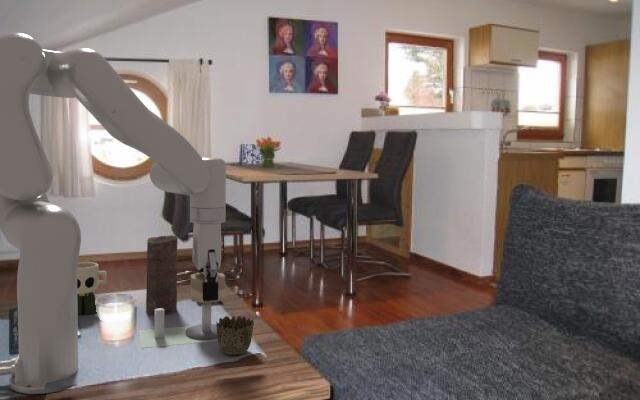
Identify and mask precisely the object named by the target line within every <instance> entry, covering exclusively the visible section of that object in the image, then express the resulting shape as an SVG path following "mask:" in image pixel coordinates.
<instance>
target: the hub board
mask: <svg viewBox="0 0 640 400" xmlns="http://www.w3.org/2000/svg"><path fill="white" fill-rule="evenodd" d="M201 306H202V307H201V324H196V325H187V326H175V327H165V315H164V309H163V308H158V309H155V315H154V328H152V329H150V328H149V329H139V330H138V335H139V344H140V348H141V349H147V348H157V347H166V346H167V347H168V346H178V345H187V344H189V345H190V344H199V343H209V342H218V335H217V325H216V323H212V302H211V303H201Z"/></svg>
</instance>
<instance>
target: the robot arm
mask: <svg viewBox="0 0 640 400" xmlns="http://www.w3.org/2000/svg"><path fill="white" fill-rule="evenodd" d="M30 95H37V96H45V97H51V98H52V97H53V98H65V99H72V98H73V99H74V98H75V99H76V100H78V102H79V103H80V104H81V105H82V106H83V107H84V108H85V109H86V110H87V112H88V113H89V114H90V115H92V117H93V118H94V119H95V120H96V121H97V122H98V123H99V124H100V125H101V127H103V129H105V131H106V132H107V133H108V134H109V135H110V136H111V137H112V138H114V139H116V140H117V141H118V142H120V143H122V144H123V145H125V146H126V147H127V146H128V147H129V148H132V149H134V150H136V151H138V152H140V153H142V154H144V155H145V156H147V157H148V158H150V159H151V160H152V161H154V163H153V164H152V165H151V167H150V169H149V178H150V181H151V183H152V185H153V186H154V187H155V188H157V189H158V190H160V191H163V192H166V193H171V194H177V195H178V194H180V195H183V196H184V195H185V196H189V206H190V207H189V210H190V211H189V223H192V224H193V233H192V251H191V253H192V256H191V261H192V263H193V265H194V267H195V268H196V269H197V273H199V272H204V282H203V301H213V300H218V273H219V272H218V270H219V269H220V268H221V262H222V225H221V224H223V223H226V215H227V214H226V208H227V207H226V199H227V198H226V197H227V192H226V191H227V187H226V186H227V183H226V181H227V164H226V161H225V160H224V158H223V159H222V158H221V157H220V158H219V157H202V156H201V154H199V152H198V151H197V150H196V149H195V147H194V146H193V145H192V144H191V143H190V142H189V141H188V140H187V139H186V138H185V136H183V135H182V134H181V133H180V131H179V132H178V131H177V129H175V128H173V127H172V126H171V125H169V123H167V122H166V121H164V119H162V118H161V117H160V116H158V115H157V114H155V113H154V112H152V110H150V109H149V108H148V107H147V106H146V105H145V104H144V102H143V101H141V99H140V97H138V96H137V95H136V93H135V92H134V91H133V90H132V88H130V86H129V85H128V84H127V82H125V80H124V79H123V78H122V77H121V75H120V74H119V73H118V72H117V71H116V70H115V69H114V67H113V66H112V65H111V63H109V62H108V61H107V59H106V58H105V57H104V56H103V55H102V54H100V53H99V52H98V51H96V50H94V49H92V48H85V47H83V48H81V47H80V48H75V49H71V50H68V51H55V50H48V49H43V47H42V45H41V43H39V42H38V40H36V39H34V37H32V36H31V35H28V34H25V33H21V32H9V33H5V34H4V33H3V34H2V35H0V231H1V233H2V236H3V237H4V238H5V240H6V241H7V243H9V244H10V245H11V246H13V247H14V248H15V249H18V250H19V259H18V267H17V275H16V276H17V277H16V278H17V279H16V295H17V298H16V299H17V328H18V329H17V330H18V331H17V332H18V355H17V357H12V358H11V360H10V359H8V360H0V377H1V376H5V375H6V376H7V375H10V376H9V381H8V383H9V384H8V386H9V388H10V389H11V390H13V391H15V392H17V393H20V394H27V395H41V394H51V393H56V392H61V391H64V390H68V389H70V388H74V387H75V386H76V384H71V385H70V384H69V385H64V386H63V385H61V386H52V387H46V386H47V383H53V382H58V381H63V380H65V379H67V378H69V377H72V376H73V375H75V374H76V373H78V370H79V333H78V332H79V331H78V330H79V329H78V328H79V325H78V324H79V319H78V317H79V316H78V302H77V267H78V262H79V257H80V251H81V250H80V249H81V245H82V231H81V227H80V224H79V222H78V220H77V219H76V217H75V216H74V214H72V213H71V212H70V211H69V210H67V209H66V208H64V207H62V206H60V205H56V204H53V203H51V202H50V200H49V198H48V196H47V193H48V192H49V190H50V189H51V187H52V184H53V179H54V178H53V176H54V175H53V170H52V166H51V164H50V162H49V158H48V157H47V155H46V153H45V150H44V147H43V145H42V143H41V141H40V137H39V135H38V132H37V129H36V128H35V125H34V121H33V118H32V115H31V112H30V105H29V101H30ZM207 272H208V273H207Z"/></svg>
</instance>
